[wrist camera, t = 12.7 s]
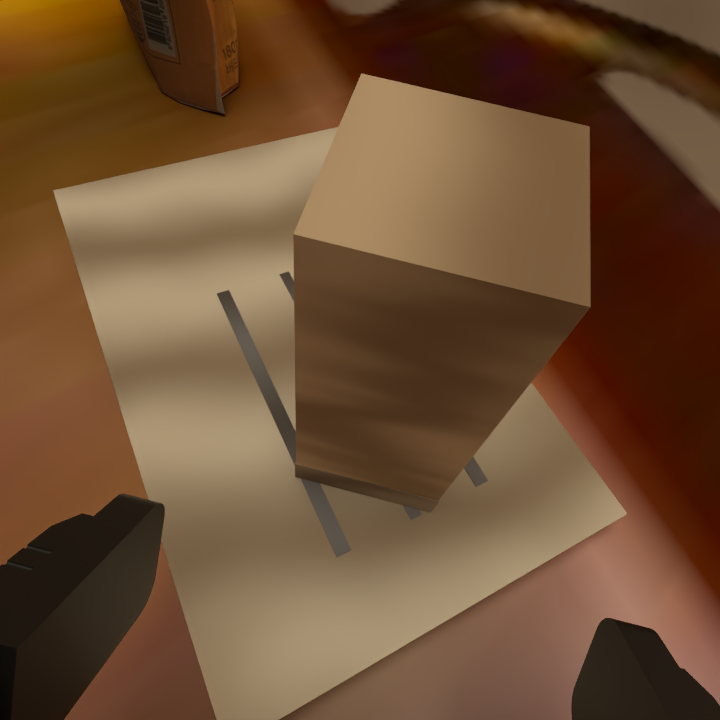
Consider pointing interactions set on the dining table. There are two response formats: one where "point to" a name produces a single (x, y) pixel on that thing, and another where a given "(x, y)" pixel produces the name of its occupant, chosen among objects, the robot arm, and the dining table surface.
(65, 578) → the robot arm
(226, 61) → the pancake mix bag
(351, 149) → the tan tall block
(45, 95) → the dining table surface
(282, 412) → the birch board
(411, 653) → the dining table surface
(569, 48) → the dining table surface
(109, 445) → the dining table surface
